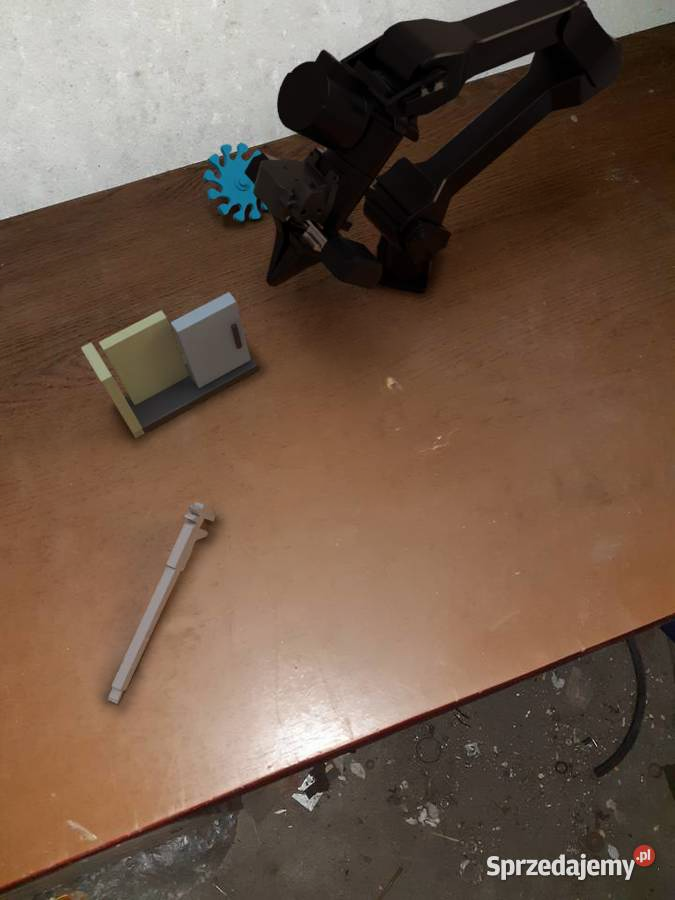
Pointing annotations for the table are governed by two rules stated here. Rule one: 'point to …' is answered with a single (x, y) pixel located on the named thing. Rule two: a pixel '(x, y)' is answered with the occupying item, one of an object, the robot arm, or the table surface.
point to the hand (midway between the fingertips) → (270, 284)
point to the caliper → (161, 595)
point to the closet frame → (153, 374)
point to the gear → (233, 182)
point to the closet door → (212, 339)
